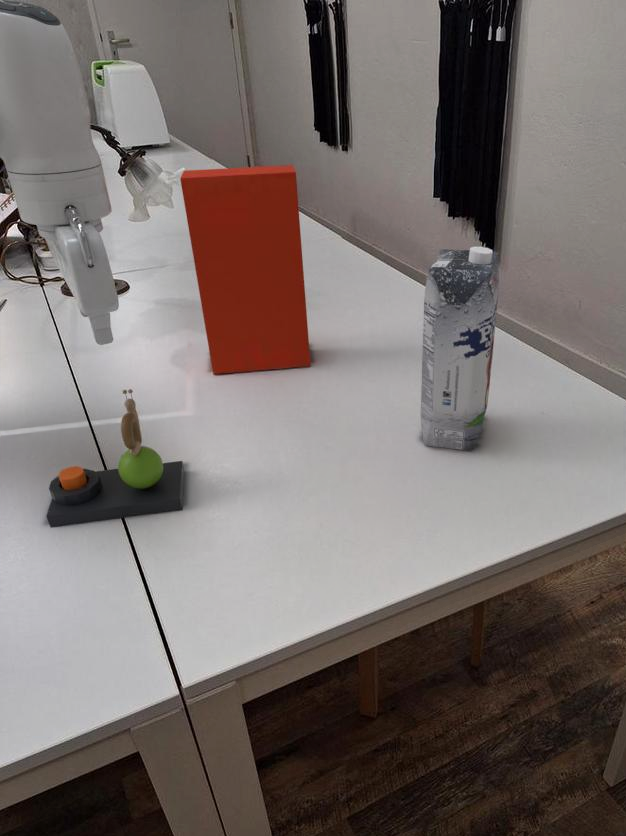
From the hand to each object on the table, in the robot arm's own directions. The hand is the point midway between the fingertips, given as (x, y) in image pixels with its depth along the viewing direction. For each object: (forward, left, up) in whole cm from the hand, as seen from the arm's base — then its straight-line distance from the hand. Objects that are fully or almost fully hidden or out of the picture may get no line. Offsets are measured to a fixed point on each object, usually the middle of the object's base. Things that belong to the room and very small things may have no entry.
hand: (96, 327), depth 74 cm
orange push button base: (-2, -2, -23) cm, 23 cm away
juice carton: (+45, +4, -23) cm, 50 cm away
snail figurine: (+1, -2, -21) cm, 21 cm away
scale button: (-7, -2, -19) cm, 21 cm away
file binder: (+19, +37, -23) cm, 47 cm away
